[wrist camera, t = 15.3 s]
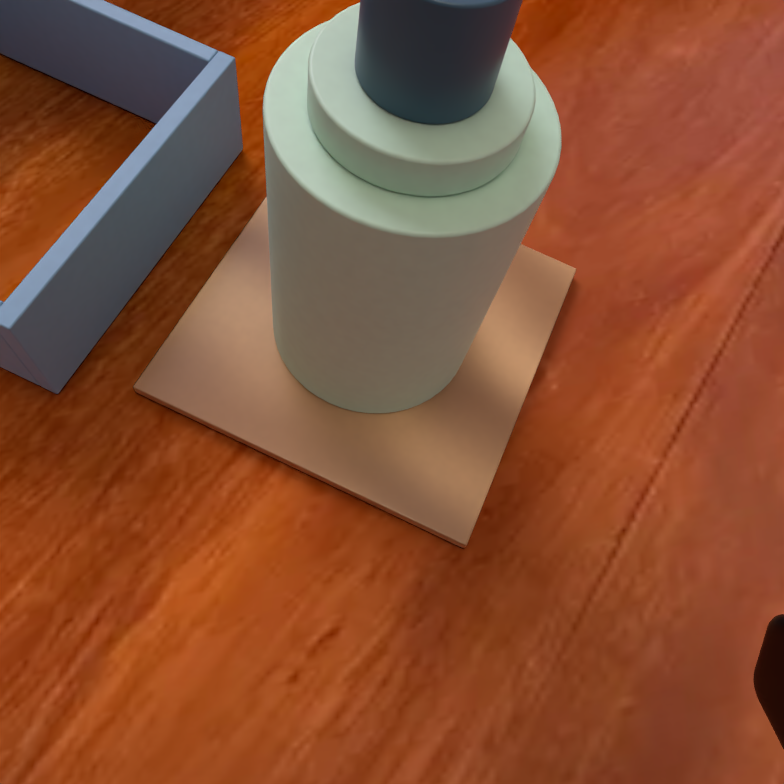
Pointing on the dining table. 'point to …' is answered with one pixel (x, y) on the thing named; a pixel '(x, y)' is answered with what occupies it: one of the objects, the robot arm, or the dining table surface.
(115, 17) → the open rectangular frame
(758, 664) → the robot arm
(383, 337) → the water bottle
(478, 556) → the dining table surface
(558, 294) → the cork mat
